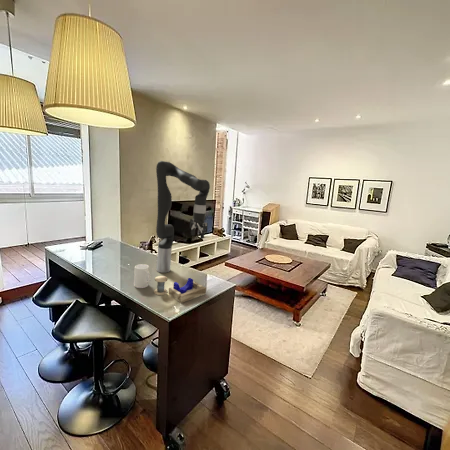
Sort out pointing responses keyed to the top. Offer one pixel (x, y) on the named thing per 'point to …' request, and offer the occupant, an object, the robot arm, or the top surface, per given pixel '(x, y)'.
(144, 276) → the mug
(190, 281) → the cable clip
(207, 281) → the top surface
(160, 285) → the bobbin
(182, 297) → the notched board
